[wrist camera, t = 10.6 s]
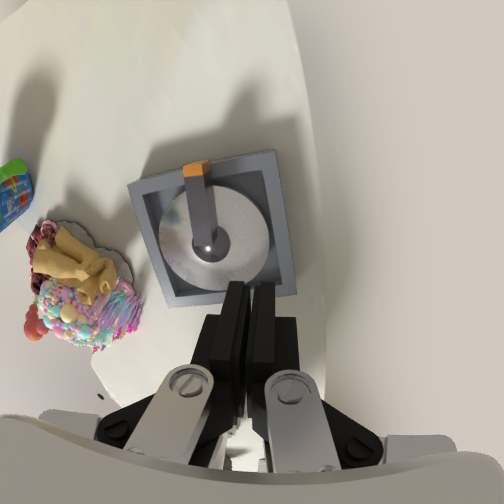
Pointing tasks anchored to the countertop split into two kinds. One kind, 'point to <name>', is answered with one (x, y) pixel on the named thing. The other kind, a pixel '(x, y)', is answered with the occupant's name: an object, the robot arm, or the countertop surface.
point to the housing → (237, 175)
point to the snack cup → (14, 192)
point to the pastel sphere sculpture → (78, 288)
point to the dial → (213, 232)
